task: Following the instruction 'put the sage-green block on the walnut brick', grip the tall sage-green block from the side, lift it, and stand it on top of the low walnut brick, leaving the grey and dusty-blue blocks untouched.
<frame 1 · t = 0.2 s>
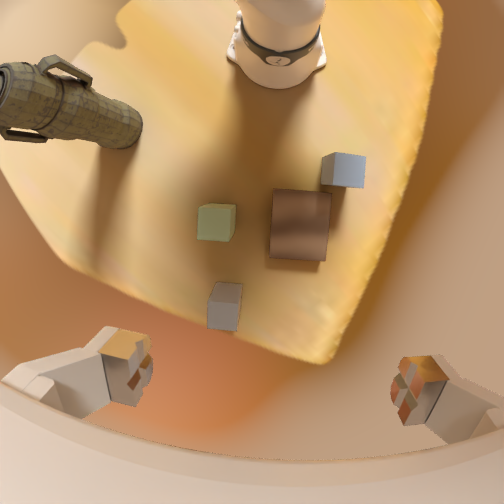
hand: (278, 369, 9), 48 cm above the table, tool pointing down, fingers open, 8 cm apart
blue block: (334, 172, 53), on the table
walnut brick: (298, 222, 56), on the table
grey block: (228, 295, 59), on the table
green block: (222, 217, 56), on the table
thermos: (123, 127, 52), on the table
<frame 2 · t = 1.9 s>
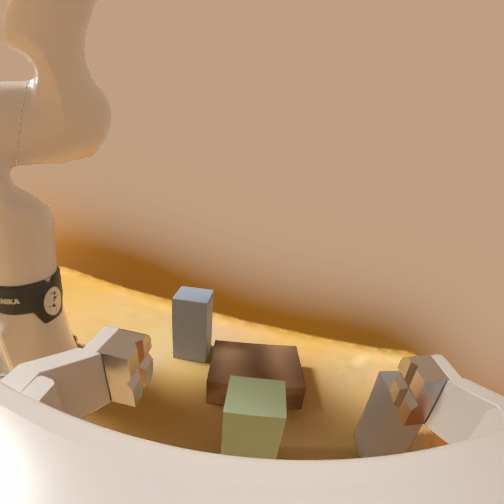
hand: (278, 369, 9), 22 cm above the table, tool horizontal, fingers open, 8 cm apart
blue block: (192, 351, 46), on the table
walnut brick: (253, 385, 40), on the table
grey block: (376, 447, 27), on the table
green block: (246, 460, 26), on the table
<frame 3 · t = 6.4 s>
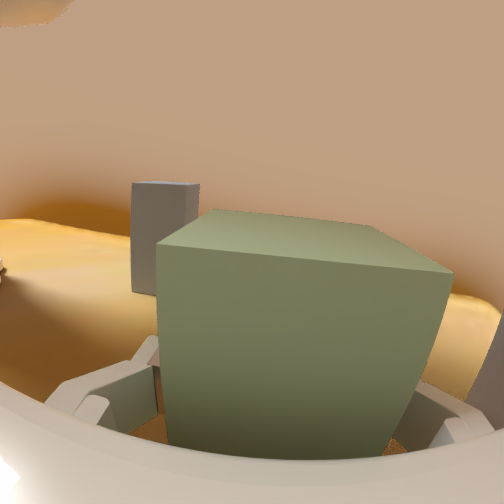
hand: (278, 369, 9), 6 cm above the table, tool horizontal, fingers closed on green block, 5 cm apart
blue block: (164, 286, 29), on the table
green block: (258, 484, 9), on the table, touching gripper
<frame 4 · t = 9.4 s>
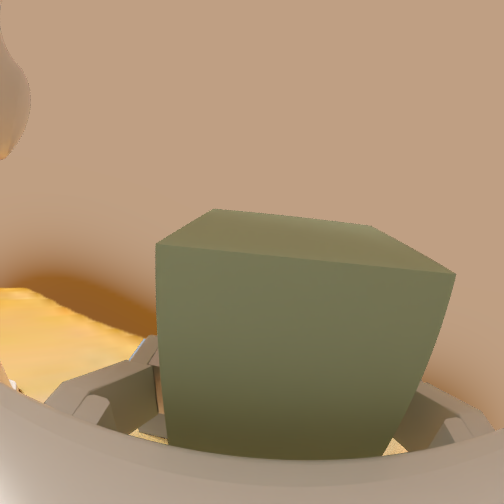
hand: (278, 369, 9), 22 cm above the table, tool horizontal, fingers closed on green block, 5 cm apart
blue block: (165, 422, 30), on the table
green block: (258, 484, 9), point 16 cm above the table, touching gripper
when the fingers open (11 cm above the table, at t = 12.7 s): green block drops 2 cm, point 4 cm above the table.
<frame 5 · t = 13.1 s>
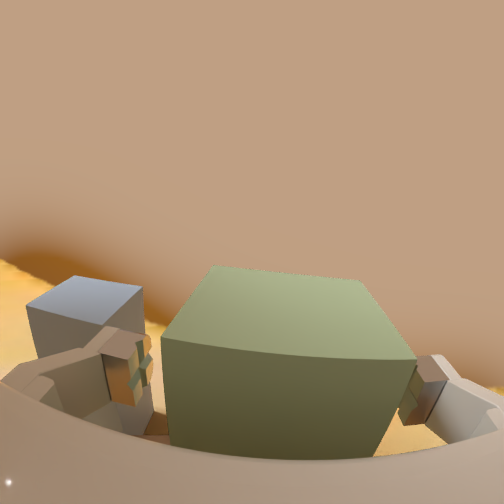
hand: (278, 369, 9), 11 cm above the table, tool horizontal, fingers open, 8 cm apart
blue block: (111, 424, 17), on the table
green block: (253, 499, 10), point 4 cm above the table
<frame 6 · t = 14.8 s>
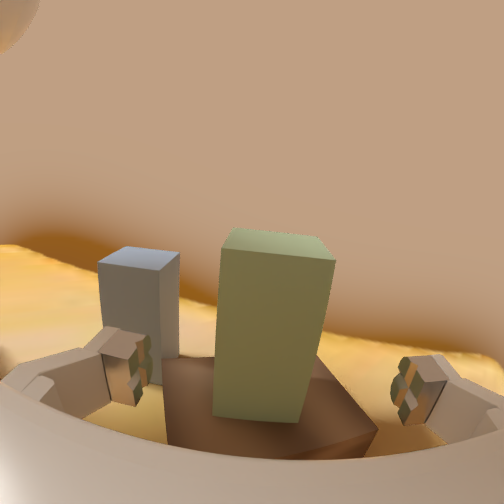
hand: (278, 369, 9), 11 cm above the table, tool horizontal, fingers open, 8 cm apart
blue block: (146, 363, 25), on the table
walnut brick: (253, 436, 19), on the table, touching green block
green block: (256, 393, 18), point 3 cm above the table, touching walnut brick
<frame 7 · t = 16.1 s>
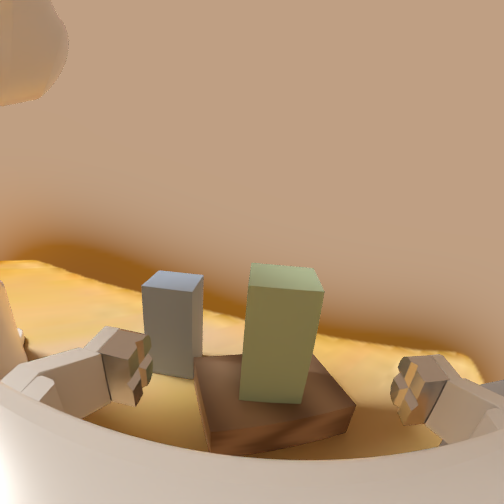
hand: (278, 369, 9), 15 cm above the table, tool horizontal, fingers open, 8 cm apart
blue block: (176, 363, 32), on the table
walnut brick: (264, 414, 26), on the table, touching green block
green block: (269, 383, 25), point 4 cm above the table, touching walnut brick
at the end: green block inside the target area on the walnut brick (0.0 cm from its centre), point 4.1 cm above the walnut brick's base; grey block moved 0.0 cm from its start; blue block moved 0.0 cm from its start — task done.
